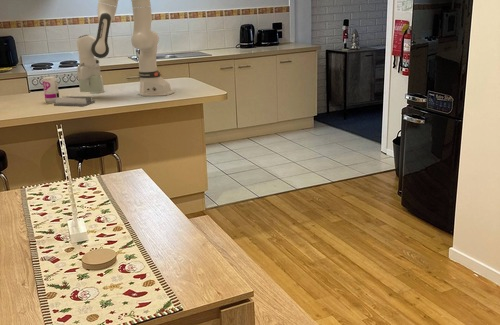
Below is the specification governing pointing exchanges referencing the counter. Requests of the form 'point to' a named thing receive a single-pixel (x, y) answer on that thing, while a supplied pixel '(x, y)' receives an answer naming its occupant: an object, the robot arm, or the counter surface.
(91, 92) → the small box
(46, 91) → the supplement can
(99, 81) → the door panel
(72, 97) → the bottom track
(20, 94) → the counter surface
